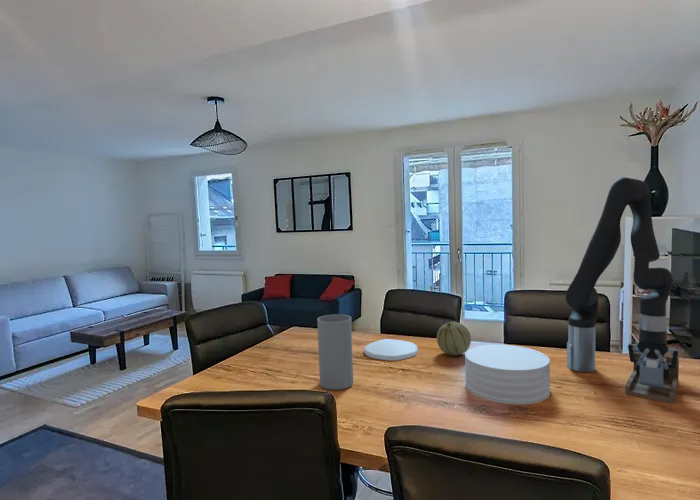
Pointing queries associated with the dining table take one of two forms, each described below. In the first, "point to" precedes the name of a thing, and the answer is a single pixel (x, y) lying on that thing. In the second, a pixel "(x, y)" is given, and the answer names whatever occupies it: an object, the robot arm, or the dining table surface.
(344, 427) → the dining table surface
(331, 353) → the cylinder vase
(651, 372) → the caddy
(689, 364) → the dining table surface
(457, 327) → the cantaloupe
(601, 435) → the dining table surface
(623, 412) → the dining table surface
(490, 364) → the plate stack
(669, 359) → the shelf
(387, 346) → the decorative plate
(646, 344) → the robot arm
